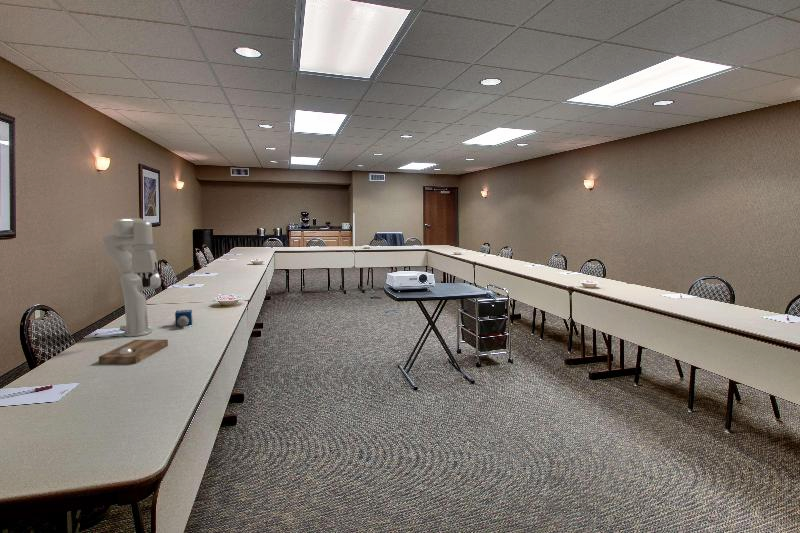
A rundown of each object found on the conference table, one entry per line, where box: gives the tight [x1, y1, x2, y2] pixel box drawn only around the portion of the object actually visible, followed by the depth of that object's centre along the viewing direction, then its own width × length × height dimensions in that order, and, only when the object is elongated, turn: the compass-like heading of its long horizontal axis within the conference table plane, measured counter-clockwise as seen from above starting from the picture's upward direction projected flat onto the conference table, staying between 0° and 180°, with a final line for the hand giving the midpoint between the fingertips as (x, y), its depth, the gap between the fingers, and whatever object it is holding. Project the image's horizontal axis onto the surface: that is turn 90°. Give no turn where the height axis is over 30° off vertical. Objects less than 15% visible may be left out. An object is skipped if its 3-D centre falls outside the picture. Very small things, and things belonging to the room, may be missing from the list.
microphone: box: [174, 309, 193, 328], centre depth 237 cm, size 8×8×25 cm
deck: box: [98, 339, 169, 365], centre depth 184 cm, size 15×24×3 cm, turn 0°
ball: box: [119, 347, 133, 354], centre depth 178 cm, size 5×5×5 cm
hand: (146, 286), depth 201 cm, fingers closed
